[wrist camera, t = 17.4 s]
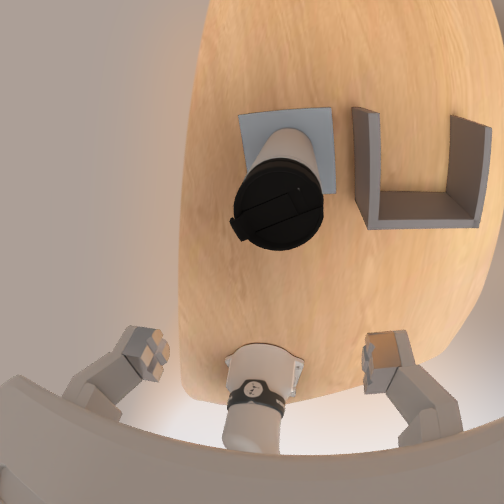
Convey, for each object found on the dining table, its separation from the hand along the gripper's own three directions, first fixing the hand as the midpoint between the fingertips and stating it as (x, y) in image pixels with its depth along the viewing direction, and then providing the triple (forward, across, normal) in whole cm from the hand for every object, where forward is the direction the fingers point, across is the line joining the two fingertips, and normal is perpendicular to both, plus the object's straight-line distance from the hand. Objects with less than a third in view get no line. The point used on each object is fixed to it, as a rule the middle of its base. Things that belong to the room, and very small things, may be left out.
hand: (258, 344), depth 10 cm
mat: (+30, 0, 0) cm, 30 cm away
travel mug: (+30, 0, +1) cm, 30 cm away
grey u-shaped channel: (+30, +17, 0) cm, 35 cm away
